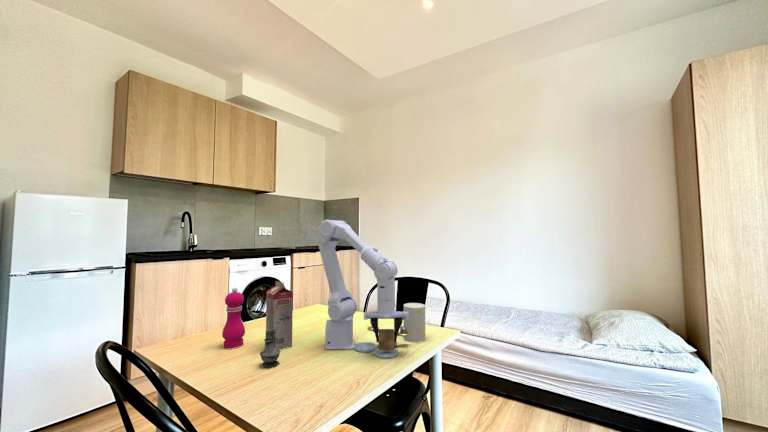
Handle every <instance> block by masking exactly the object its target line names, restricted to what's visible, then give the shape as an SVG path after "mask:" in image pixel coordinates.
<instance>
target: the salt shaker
mask: <svg viewBox="0 0 768 432" xmlns="http://www.w3.org/2000/svg"><path fill="white" fill-rule="evenodd" d="M275 332H276V329H275V328H274V327H272V325H271V324H270V327H268V328H267V329H266V328H265V338H264V342H265V343H264V349H263V350H262V351H261V352H260V353H259V356H260V358H261V360H262V363H260V367H261V366H262V367H263V369H273V368H275V366H276V367H278V366H279V365H280V361H278V359H279V357H280V353H281V352H282V351H281V350H279V349H276V340H277V338H275ZM277 365H278V366H277ZM262 367H261V368H262ZM272 367H273V368H272Z"/></svg>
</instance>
